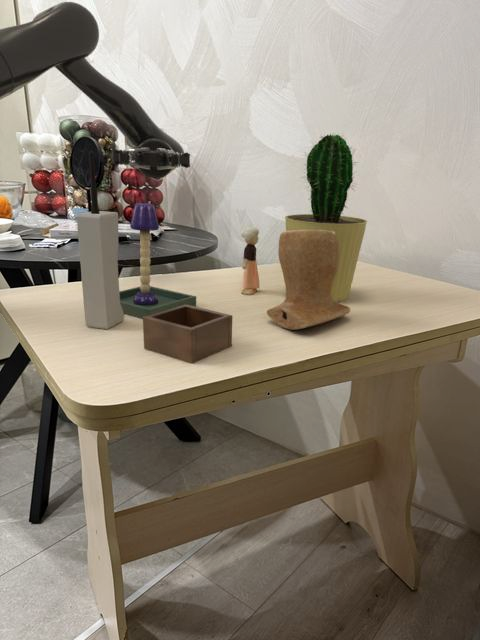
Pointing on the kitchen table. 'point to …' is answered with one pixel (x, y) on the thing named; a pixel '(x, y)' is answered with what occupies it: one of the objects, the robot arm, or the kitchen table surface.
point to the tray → (165, 302)
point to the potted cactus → (332, 206)
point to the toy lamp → (144, 249)
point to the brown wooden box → (187, 332)
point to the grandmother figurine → (250, 261)
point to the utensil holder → (99, 262)
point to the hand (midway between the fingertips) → (148, 158)
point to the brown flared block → (308, 279)
